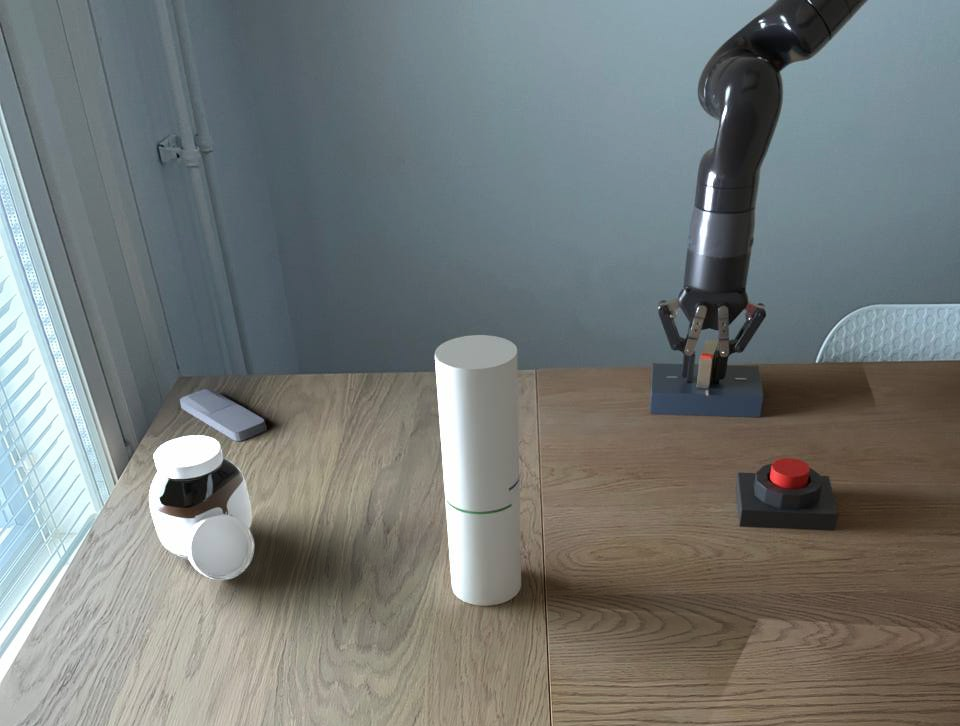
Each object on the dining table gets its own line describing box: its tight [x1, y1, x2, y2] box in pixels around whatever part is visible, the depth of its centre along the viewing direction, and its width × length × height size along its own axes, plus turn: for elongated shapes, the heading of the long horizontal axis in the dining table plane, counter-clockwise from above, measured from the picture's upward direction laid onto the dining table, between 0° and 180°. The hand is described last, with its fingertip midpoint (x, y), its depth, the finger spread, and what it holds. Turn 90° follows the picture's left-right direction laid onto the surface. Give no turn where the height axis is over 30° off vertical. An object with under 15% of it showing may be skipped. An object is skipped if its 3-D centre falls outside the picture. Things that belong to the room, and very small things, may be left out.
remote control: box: [179, 388, 268, 442], centre depth 132 cm, size 5×2×15 cm
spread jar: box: [148, 434, 255, 581], centre depth 103 cm, size 12×11×12 cm
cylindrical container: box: [434, 334, 522, 607], centre depth 93 cm, size 7×7×25 cm
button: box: [770, 457, 811, 489], centre depth 106 cm, size 4×4×2 cm
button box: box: [735, 462, 839, 532], centre depth 108 cm, size 10×8×4 cm
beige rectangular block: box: [697, 339, 719, 389], centre depth 127 cm, size 6×2×4 cm, turn 161°
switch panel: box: [649, 362, 764, 418], centre depth 129 cm, size 14×10×3 cm
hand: (702, 380), depth 128 cm, fingers open, 3 cm apart
